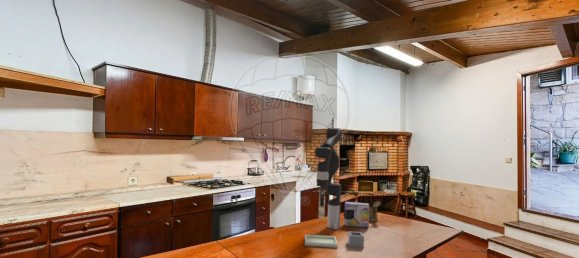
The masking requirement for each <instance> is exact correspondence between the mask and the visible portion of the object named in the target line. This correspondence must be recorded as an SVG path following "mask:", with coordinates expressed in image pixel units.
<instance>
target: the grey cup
mask: <svg viewBox="0 0 579 258" xmlns="http://www.w3.org/2000/svg"><path fill="white" fill-rule="evenodd" d="M347 244H348V246H349V248H355V247H356V248H357V249H358V248H359V249H361V248H362V249H364V248H365V247H364V245H365V236H364V234H363V232H361V231H351V230H350V231H348V232H347Z"/></svg>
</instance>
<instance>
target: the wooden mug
mask: <svg viewBox="0 0 579 258" xmlns="http://www.w3.org/2000/svg"><path fill="white" fill-rule="evenodd" d="M372 204H373V205H369V222H372V223H373V222H379V219H378V207H379V206H380V205H381V201H380V200H377V201H375V202H373V203H372Z"/></svg>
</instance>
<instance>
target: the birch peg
mask: <svg viewBox="0 0 579 258" xmlns="http://www.w3.org/2000/svg"><path fill="white" fill-rule="evenodd" d="M321 198H323V197H321ZM325 209H326V196H325V197H324V206H320V196H318V210H317V211H318V213H317V214H318V215H317V218H319V219H325V216H326V210H325Z"/></svg>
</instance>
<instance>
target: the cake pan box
mask: <svg viewBox="0 0 579 258" xmlns="http://www.w3.org/2000/svg"><path fill="white" fill-rule="evenodd" d="M369 206H370V205H369V203H366V202H365V203H363V202H357V201H356V202H353V201H345V202H344V211H343V219H344V226H350V227H358V228H359V227H361V228H369V227H370V221H369Z"/></svg>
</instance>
